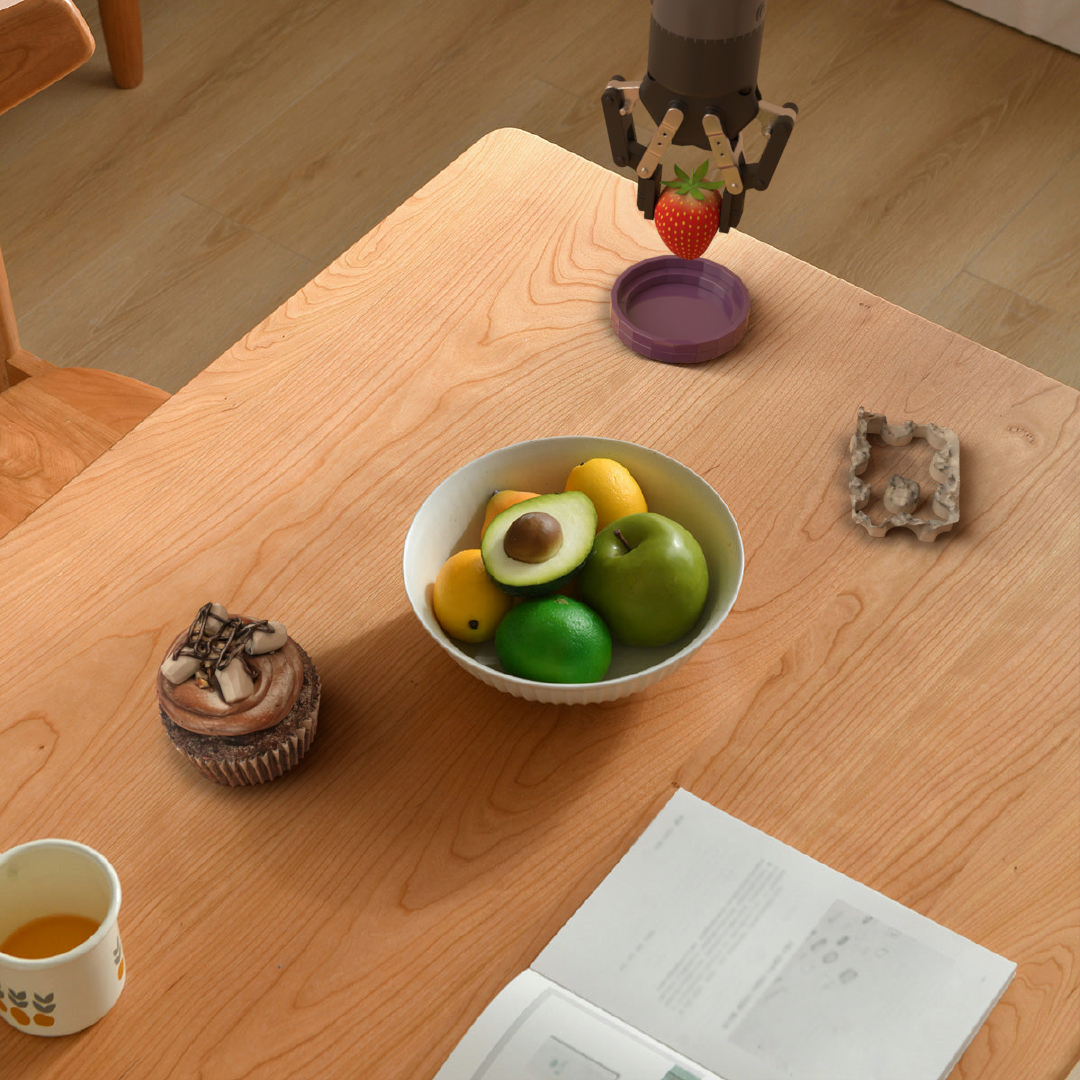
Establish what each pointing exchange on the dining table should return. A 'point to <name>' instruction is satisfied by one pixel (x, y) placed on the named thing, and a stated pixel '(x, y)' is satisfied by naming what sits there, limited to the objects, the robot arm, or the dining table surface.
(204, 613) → the cupcake
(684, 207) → the fruit
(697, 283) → the dish
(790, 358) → the dining table surface
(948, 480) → the egg carton
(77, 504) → the dining table surface
